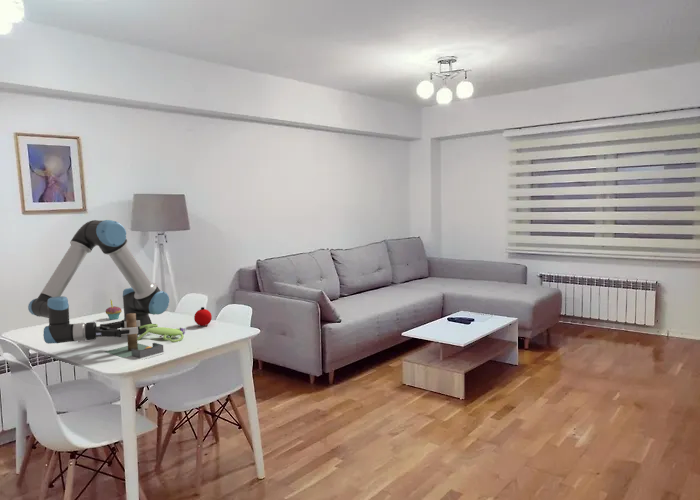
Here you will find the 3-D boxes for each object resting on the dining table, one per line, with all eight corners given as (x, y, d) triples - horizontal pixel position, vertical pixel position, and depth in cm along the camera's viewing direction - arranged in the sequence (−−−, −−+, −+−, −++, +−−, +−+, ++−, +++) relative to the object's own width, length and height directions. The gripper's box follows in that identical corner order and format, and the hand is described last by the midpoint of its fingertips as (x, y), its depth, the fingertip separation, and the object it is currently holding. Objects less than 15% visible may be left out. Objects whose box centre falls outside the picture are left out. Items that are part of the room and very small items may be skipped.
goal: (131, 357, 216) (131, 348, 215) (154, 351, 224) (154, 342, 224) (140, 360, 212) (139, 351, 211) (163, 353, 221) (163, 344, 220)
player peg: (126, 349, 224) (124, 314, 223) (134, 347, 227) (132, 312, 226) (131, 351, 222) (129, 315, 220) (139, 349, 225) (137, 313, 224)
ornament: (209, 327, 266) (208, 308, 265) (192, 327, 266) (191, 309, 266) (214, 323, 275) (213, 305, 274) (197, 323, 275) (196, 305, 275)
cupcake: (117, 320, 287) (116, 299, 286) (102, 320, 288) (101, 299, 286) (124, 316, 296) (123, 296, 295) (110, 317, 296) (109, 296, 295)
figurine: (144, 332, 259) (143, 322, 259) (194, 333, 257) (194, 322, 256) (124, 342, 241) (124, 331, 240) (179, 343, 238) (178, 331, 238)
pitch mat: (104, 354, 222) (103, 351, 222) (137, 345, 235) (137, 343, 235) (124, 360, 213) (123, 357, 213) (158, 350, 226) (157, 348, 225)
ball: (149, 353, 215) (145, 358, 217) (157, 350, 218) (153, 356, 220) (144, 345, 216) (140, 351, 218) (152, 343, 220) (148, 349, 221)
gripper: (90, 333, 230) (141, 328, 237) (81, 347, 206) (137, 342, 213) (89, 316, 229) (140, 312, 236) (80, 329, 206) (136, 324, 212)
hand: (139, 326), depth 225 cm, fingers open, 13 cm apart
